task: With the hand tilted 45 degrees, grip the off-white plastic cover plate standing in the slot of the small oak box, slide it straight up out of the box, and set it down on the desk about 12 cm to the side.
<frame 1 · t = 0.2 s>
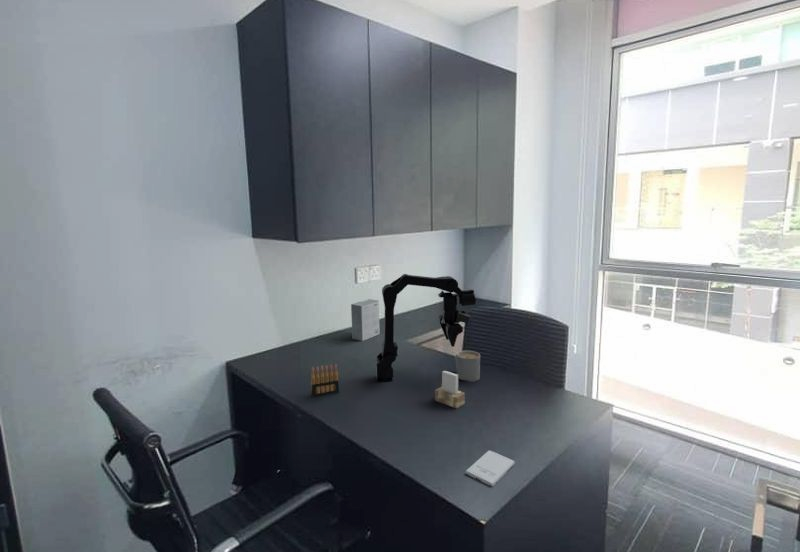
hand: (450, 342, 172), 14 cm above the table, tool pointing down, fingers open, 9 cm apart
ammunition clip: (325, 394, 157), on the table
hard drive box: (366, 337, 228), on the table
external hard drive: (490, 471, 111), on the table
oak box: (449, 403, 149), on the table
coffee mug: (465, 376, 174), on the table
cover plate: (449, 401, 149), resting on oak box
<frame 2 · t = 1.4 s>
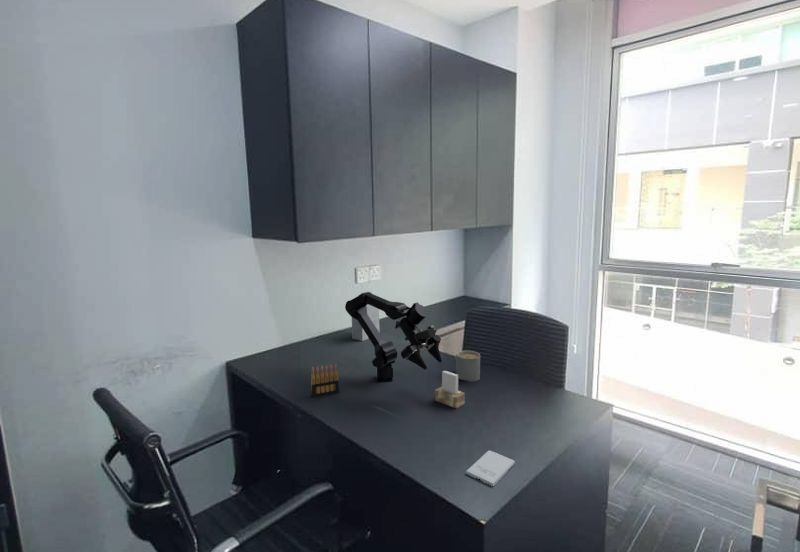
hand: (433, 365, 152), 12 cm above the table, tool tilted 45°, fingers open, 9 cm apart
nothing on the table moved.
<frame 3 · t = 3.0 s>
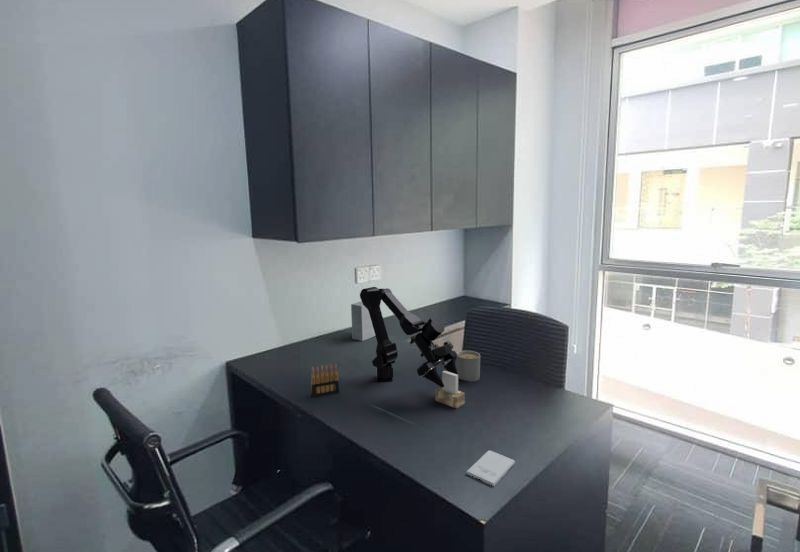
hand: (450, 382, 148), 8 cm above the table, tool tilted 45°, fingers open, 9 cm apart
nothing on the table moved.
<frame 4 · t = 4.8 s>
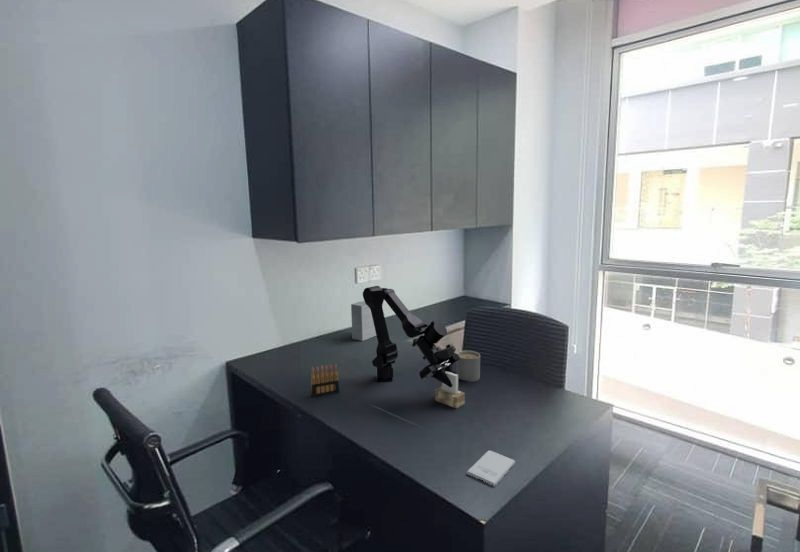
hand: (453, 385, 147), 7 cm above the table, tool tilted 45°, fingers closed on cover plate, 2 cm apart
cover plate: (449, 401, 149), resting on oak box, touching gripper
everything else where it was.
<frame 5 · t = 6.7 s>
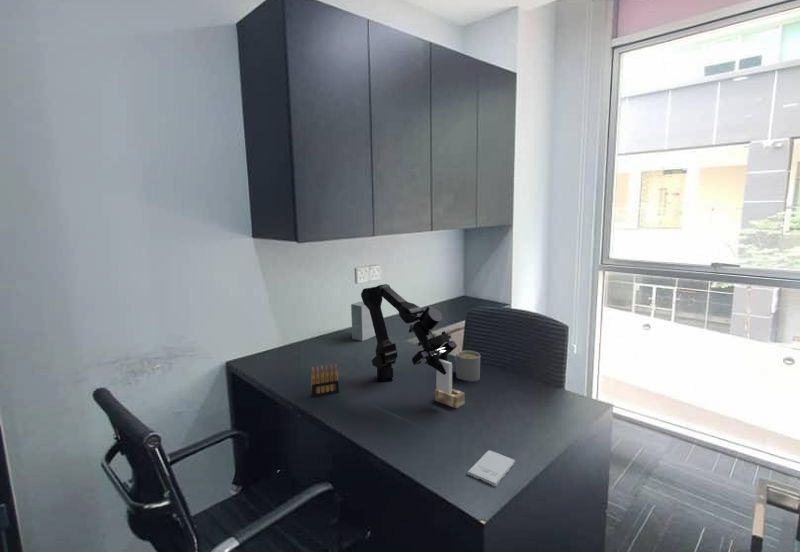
hand: (447, 373, 144), 13 cm above the table, tool tilted 45°, fingers closed on cover plate
cover plate: (444, 390, 146), point 6 cm above the table, touching gripper
everything else where it was.
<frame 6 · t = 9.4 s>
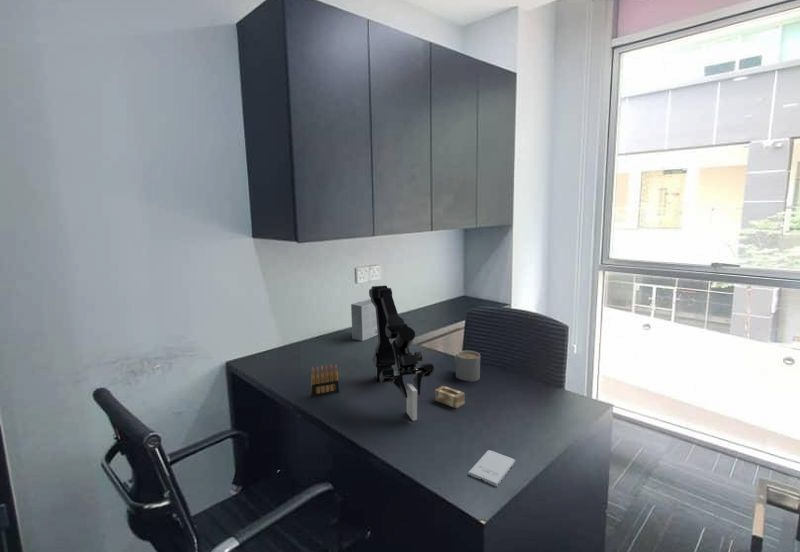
hand: (412, 396, 137), 8 cm above the table, tool tilted 45°, fingers open, 4 cm apart
cover plate: (411, 417, 139), on the table
everything else where it was.
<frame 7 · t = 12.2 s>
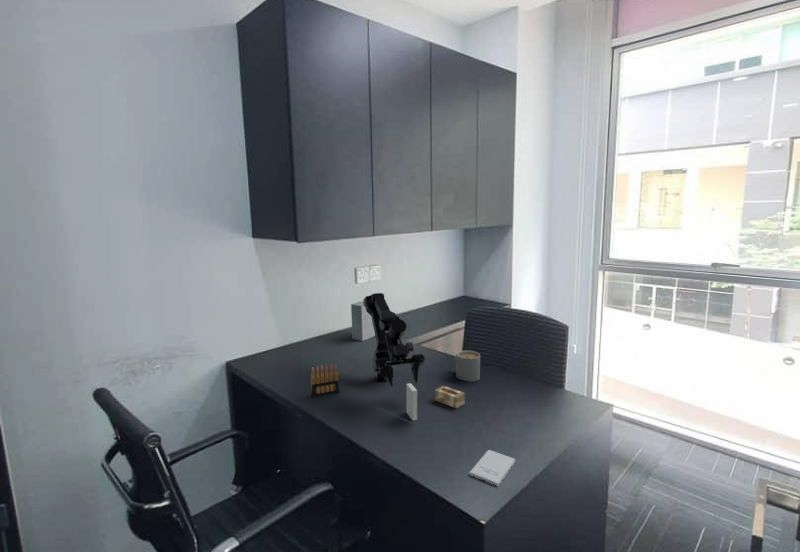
hand: (404, 384, 145), 8 cm above the table, tool tilted 45°, fingers open, 9 cm apart
nothing on the table moved.
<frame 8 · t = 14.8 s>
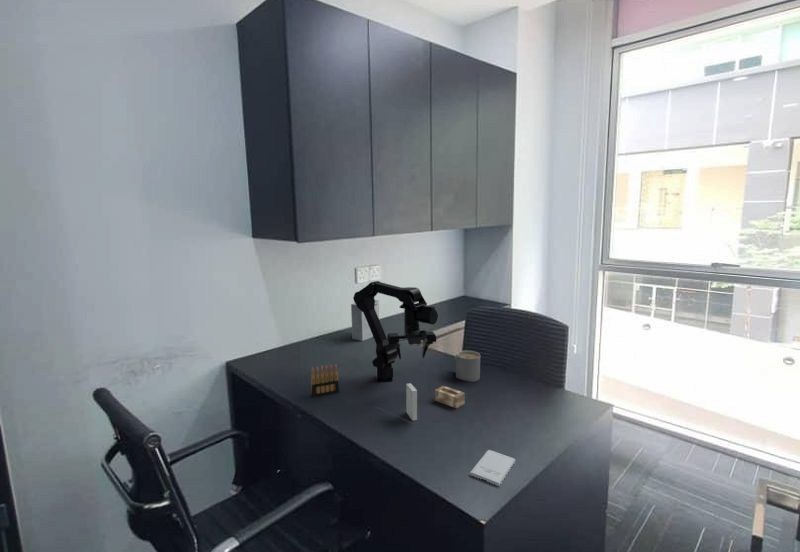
hand: (411, 358, 161), 12 cm above the table, tool pointing down, fingers open, 9 cm apart
nothing on the table moved.
at the end: cover plate touching table; cover plate inside the target area (0.3 cm from its centre), on the table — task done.
